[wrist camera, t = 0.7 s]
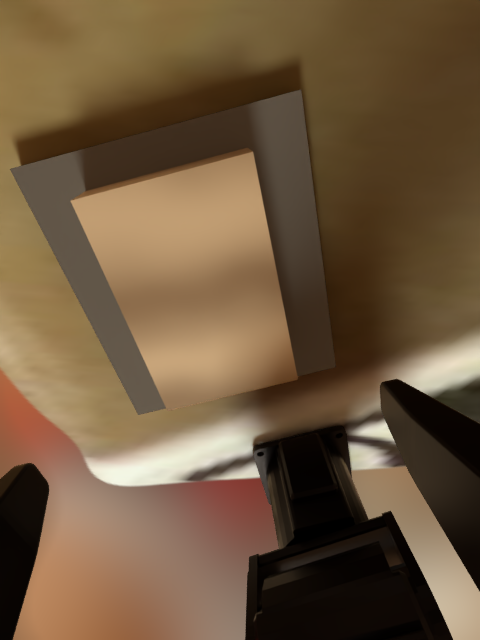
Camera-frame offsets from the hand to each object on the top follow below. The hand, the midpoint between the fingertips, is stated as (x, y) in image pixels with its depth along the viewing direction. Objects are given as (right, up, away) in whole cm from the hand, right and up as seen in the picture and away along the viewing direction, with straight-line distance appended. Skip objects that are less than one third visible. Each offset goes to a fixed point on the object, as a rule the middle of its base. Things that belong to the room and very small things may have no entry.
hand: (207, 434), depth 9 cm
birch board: (-1, +5, +9) cm, 10 cm away
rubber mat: (-1, +5, +10) cm, 11 cm away
